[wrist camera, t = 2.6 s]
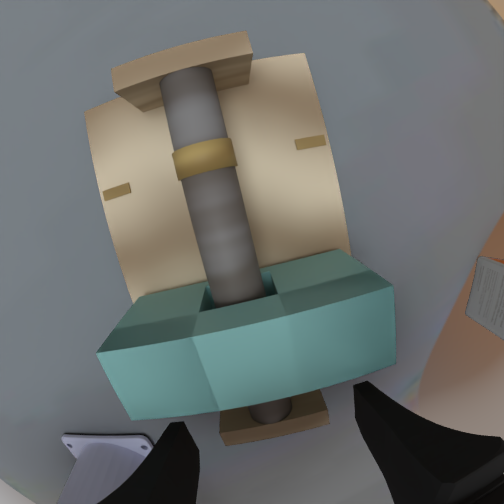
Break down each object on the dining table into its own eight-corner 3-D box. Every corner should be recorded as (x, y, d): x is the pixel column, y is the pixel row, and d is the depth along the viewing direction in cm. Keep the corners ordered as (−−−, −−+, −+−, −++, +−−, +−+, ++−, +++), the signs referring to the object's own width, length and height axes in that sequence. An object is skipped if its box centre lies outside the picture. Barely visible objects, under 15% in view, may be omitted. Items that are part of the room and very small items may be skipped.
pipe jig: (358, 361, 17) (388, 407, 12) (180, 401, 17) (169, 455, 12) (301, 59, 13) (325, 17, 9) (91, 114, 13) (43, 95, 9)
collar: (348, 307, 15) (396, 363, 9) (159, 350, 15) (131, 420, 9) (339, 248, 14) (393, 285, 9) (139, 296, 14) (95, 353, 9)
